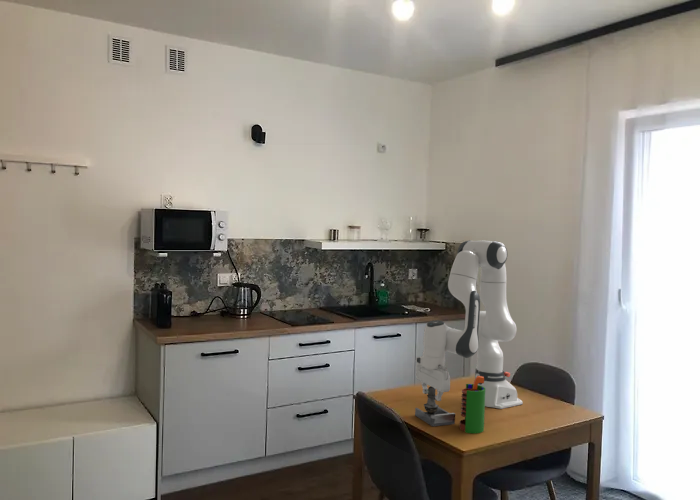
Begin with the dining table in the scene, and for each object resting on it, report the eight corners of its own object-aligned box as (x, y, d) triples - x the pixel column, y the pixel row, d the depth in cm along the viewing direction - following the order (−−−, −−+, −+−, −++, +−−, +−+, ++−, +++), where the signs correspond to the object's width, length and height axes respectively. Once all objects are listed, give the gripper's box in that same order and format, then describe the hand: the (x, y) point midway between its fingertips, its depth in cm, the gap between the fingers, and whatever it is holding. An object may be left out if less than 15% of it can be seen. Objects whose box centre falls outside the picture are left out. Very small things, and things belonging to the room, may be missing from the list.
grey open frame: (415, 415, 230) (415, 405, 229) (436, 413, 234) (437, 403, 233) (432, 426, 218) (432, 416, 217) (454, 423, 222) (455, 413, 222)
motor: (456, 423, 222) (459, 372, 221) (478, 424, 223) (481, 372, 222) (463, 433, 212) (466, 379, 211) (487, 433, 213) (490, 380, 212)
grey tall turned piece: (440, 416, 226) (442, 385, 226) (426, 417, 225) (428, 386, 224) (434, 411, 232) (435, 382, 232) (420, 412, 230) (422, 382, 230)
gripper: (455, 368, 219) (453, 404, 220) (427, 355, 238) (425, 389, 238) (441, 369, 217) (439, 405, 217) (413, 356, 235) (412, 390, 236)
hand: (431, 396), depth 228 cm, fingers open, 8 cm apart
